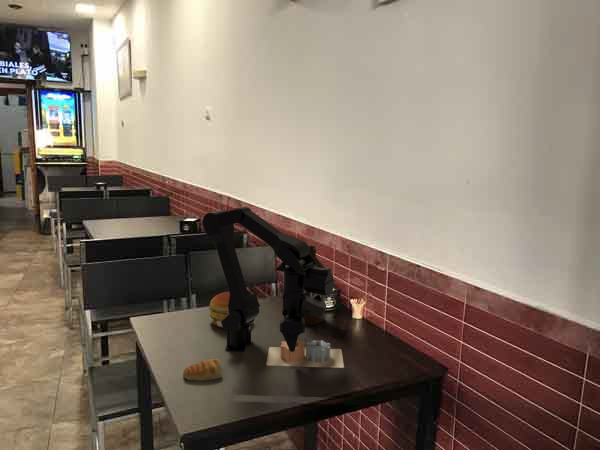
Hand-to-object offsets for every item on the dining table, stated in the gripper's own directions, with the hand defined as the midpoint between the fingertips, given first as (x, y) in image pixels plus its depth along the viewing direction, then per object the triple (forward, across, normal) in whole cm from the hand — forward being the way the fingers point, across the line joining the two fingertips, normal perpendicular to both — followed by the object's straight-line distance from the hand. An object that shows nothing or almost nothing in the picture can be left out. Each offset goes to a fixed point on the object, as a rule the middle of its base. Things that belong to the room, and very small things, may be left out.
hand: (292, 344), depth 133 cm
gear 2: (+3, 0, -7) cm, 8 cm away
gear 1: (+3, 0, 0) cm, 3 cm away
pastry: (+5, -9, +22) cm, 24 cm away
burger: (+5, +25, +20) cm, 33 cm away
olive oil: (+5, +30, -4) cm, 31 cm away
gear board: (+4, 0, -3) cm, 6 cm away
